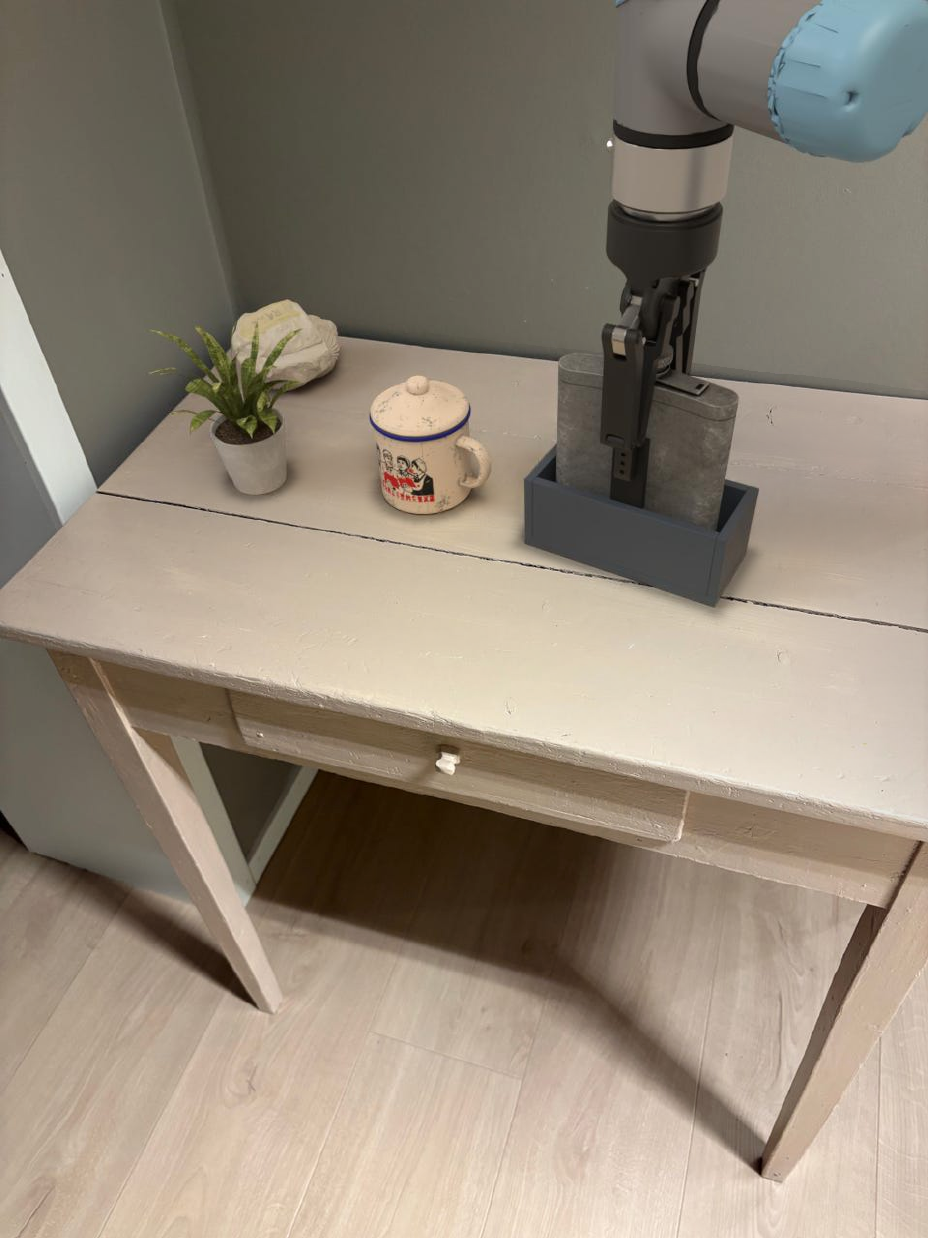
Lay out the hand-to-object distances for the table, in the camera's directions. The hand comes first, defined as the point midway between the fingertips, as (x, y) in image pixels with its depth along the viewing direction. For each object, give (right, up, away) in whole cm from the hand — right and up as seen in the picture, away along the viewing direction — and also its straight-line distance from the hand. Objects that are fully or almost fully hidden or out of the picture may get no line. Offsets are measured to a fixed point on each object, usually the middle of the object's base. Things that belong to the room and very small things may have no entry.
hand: (639, 487), depth 79 cm
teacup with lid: (-17, +1, +12) cm, 21 cm away
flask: (0, -4, +4) cm, 6 cm away
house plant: (-36, +3, +15) cm, 39 cm away
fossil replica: (-33, +16, +29) cm, 47 cm away
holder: (0, -5, +5) cm, 7 cm away
